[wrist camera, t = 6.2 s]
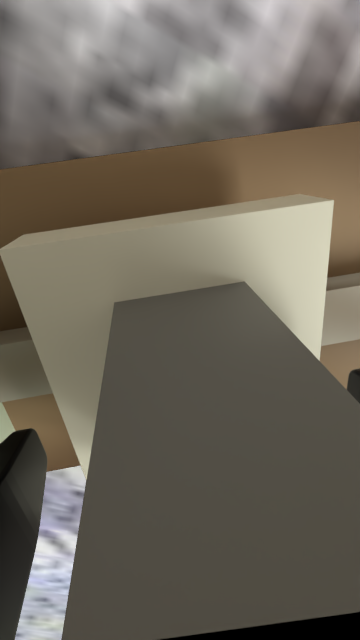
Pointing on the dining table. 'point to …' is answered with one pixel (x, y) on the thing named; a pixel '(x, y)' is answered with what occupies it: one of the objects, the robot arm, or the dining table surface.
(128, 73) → the dining table surface
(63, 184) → the rail track
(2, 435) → the cabinet
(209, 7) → the dining table surface
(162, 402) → the carriage
